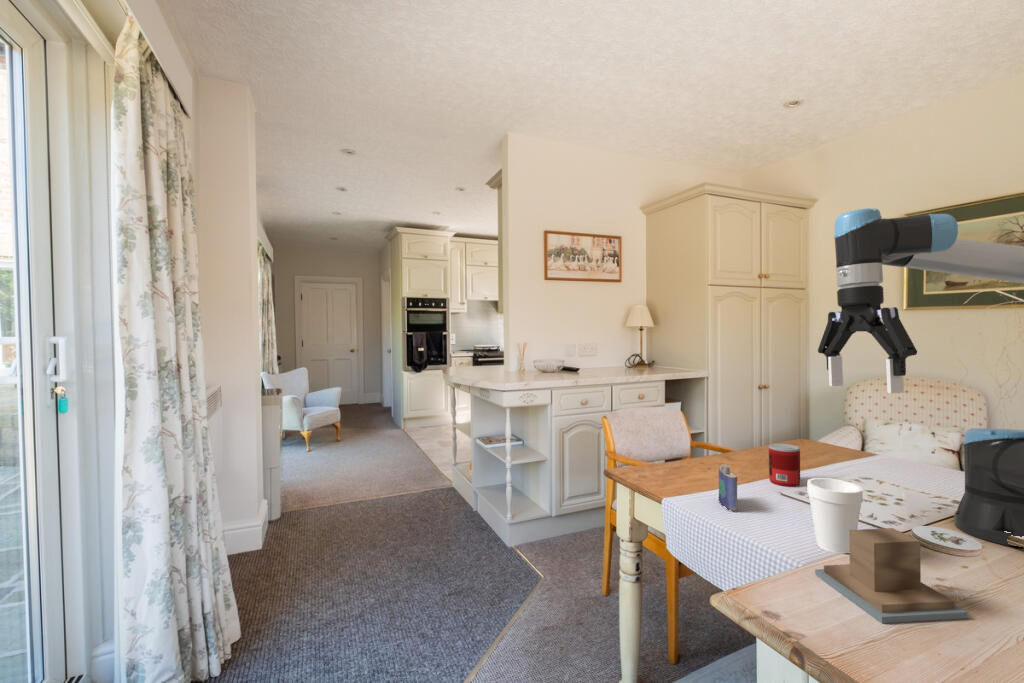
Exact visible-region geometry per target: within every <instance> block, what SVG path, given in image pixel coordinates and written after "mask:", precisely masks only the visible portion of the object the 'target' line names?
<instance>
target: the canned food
mask: <svg viewBox="0 0 1024 683" xmlns="http://www.w3.org/2000/svg"><path fill="white" fill-rule="evenodd" d="M768 474H769V475H768V478H769V481H770V483H772V484H774V485H776V486H781V487H788V488H795V487H799V486H800V484H801V449H800V447H799V446H797V445H794V444H788V443H771V444H769V445H768Z"/></svg>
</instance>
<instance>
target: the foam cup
mask: <svg viewBox="0 0 1024 683" xmlns="http://www.w3.org/2000/svg"><path fill="white" fill-rule="evenodd" d="M806 483H807V484H806V487H807V491H806V492H807V495H808V497H809V498H808V499H809V504H810V508H811V509H810V510H811V516H812V517H811V518H812V522H813V528H814V533H815V534H814V535H815V540H816V544H817V546H819V548H821V549H823V550H825V551H828V552H832V553H834V554H839V555H841V554H842V555H846V554H845V553H849V552H850V542H849V530H858V526H859V520H860V513H861V507H862V503H863V502H864V501H863V500H864V499H863V497H864V496H863V487H862V486H860V485H858V484H856V483H854V482H851V481H847V480H842V479H837V478H831V477H830V478H829V477H813V478H809V479H807V482H806Z"/></svg>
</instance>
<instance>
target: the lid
mask: <svg viewBox="0 0 1024 683" xmlns="http://www.w3.org/2000/svg"><path fill="white" fill-rule="evenodd" d="M849 542H850V554H849V563H848V564H833V565H832V564H829V565H823V569H824V572H825V573H826V574H828V575H829V576H830V577H832V578H833V579H835V580H836V581H838V582H839V583H840V584H842V585H843V586H845V587H846V588H848V589H849V590H850V591H852V592H853V593H855V594H856V595H858V596H859V597H860V598H862V599H863V600H865V601H866V602H868V603H869V604H870V605H872V606H873V607H875V608H876V609H878V610H879V611H880V612H882V613H883V612H901V611H919V610H938V609H954V605H955V600H953V599H952V598H950V597H948V596H946V595H945V594H942V593H941V592H939V591H938V590H936V589H933V588H932V587H931V586H928V584H925V583H923V582H922V581H921V580H922V577H921V576H922V575H921V571H922V570H921V541H920V540H918V539H917V538H915V537H913V536H910V535H908V534H906V533H903V532H902V531H900V530H898V529H895V528H894V527H888V528H887V527H886V528H870V529H869V528H866V529H865V528H864V529H863V528H861V529H857V530H849Z"/></svg>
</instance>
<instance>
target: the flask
mask: <svg viewBox="0 0 1024 683" xmlns="http://www.w3.org/2000/svg"><path fill="white" fill-rule="evenodd" d="M730 468H731V465H728V464H721V466H720V467H718V502H719V501H720V502H721V504H722V505H723V506H725V507H726V508H727V509H728V510H731V511H737V512H738V509H739V508H738V477H737V475H735V474H734V473H732V472H731V470H730ZM720 502H719V503H720ZM721 504H720V505H721ZM722 505H721V506H722ZM723 506H722V507H723ZM728 510H727V511H728Z"/></svg>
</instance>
